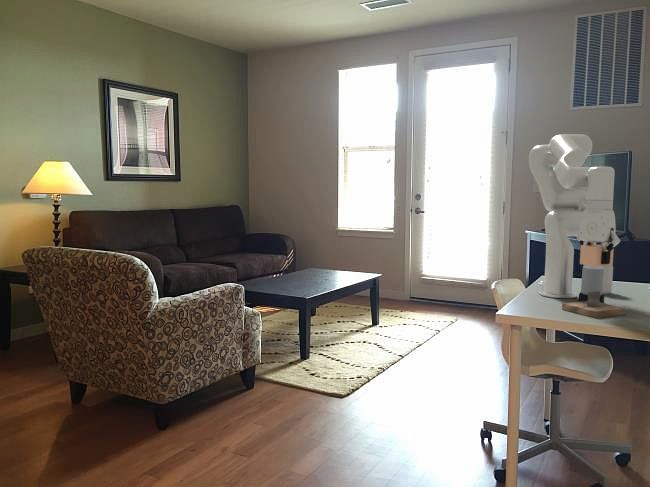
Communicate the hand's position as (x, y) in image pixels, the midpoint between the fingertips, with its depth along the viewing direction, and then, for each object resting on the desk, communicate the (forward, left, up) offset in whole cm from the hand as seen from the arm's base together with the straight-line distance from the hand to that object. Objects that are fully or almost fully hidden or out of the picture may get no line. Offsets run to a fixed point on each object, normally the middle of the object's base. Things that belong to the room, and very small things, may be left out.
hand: (596, 262), depth 177 cm
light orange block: (0, 0, -1) cm, 1 cm away
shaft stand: (0, 0, -16) cm, 16 cm away
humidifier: (-11, +12, -16) cm, 23 cm away
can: (-23, +31, -16) cm, 42 cm away
